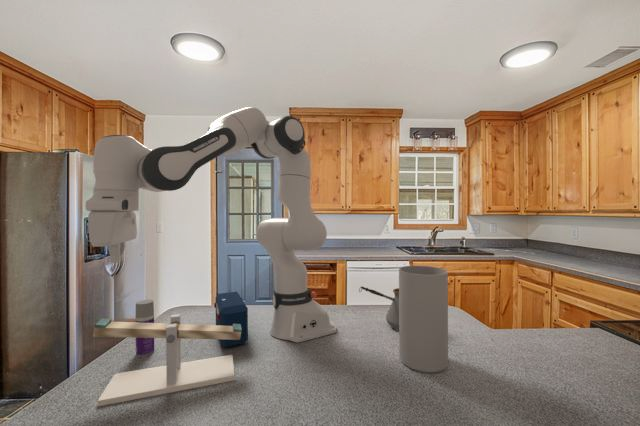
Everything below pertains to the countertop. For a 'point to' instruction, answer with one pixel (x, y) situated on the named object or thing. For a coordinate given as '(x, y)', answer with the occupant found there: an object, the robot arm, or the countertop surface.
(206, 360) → the stand
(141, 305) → the container
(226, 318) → the radio
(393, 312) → the coffee pot
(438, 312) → the cylinder vase
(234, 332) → the beam
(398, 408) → the countertop surface
